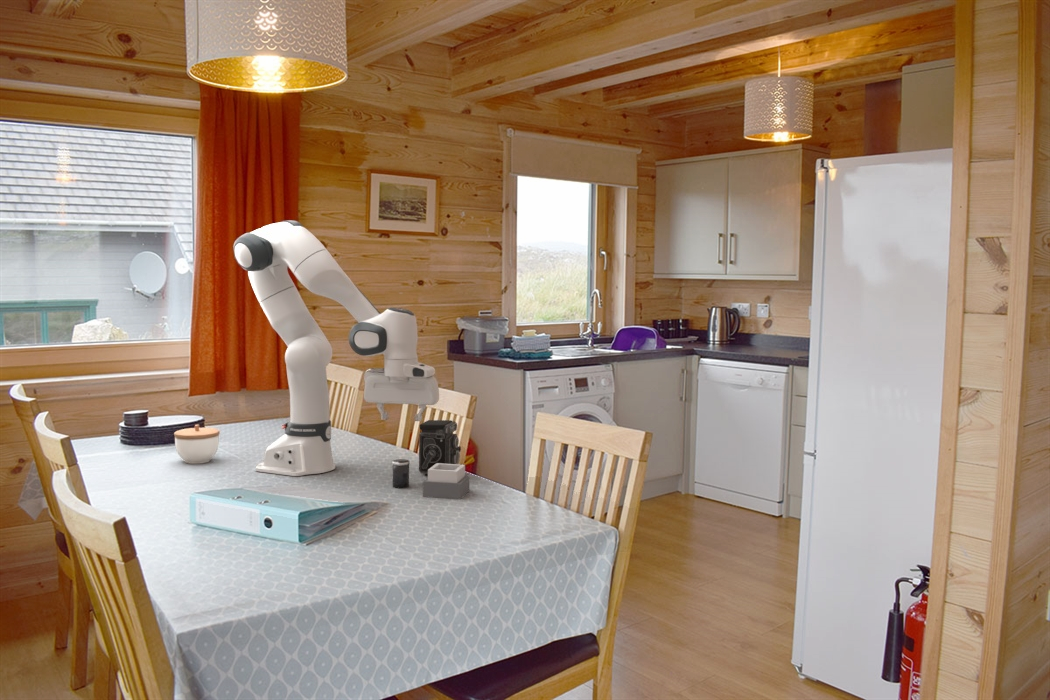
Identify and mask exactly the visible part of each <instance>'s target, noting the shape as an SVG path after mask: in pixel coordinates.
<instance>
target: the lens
mask: <svg viewBox="0 0 1050 700" xmlns="http://www.w3.org/2000/svg"><path fill="white" fill-rule="evenodd" d="M391 464H392V488H393V489H399V490H400V489H407V488H409V486H410V460H409V459H406V458H397V459H393V460H392V461H391Z"/></svg>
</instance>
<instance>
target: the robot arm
mask: <svg viewBox="0 0 1050 700" xmlns="http://www.w3.org/2000/svg"><path fill="white" fill-rule="evenodd" d="M232 247H233V255H234V259H235V260H236V263H237V264H238V265H239V266H240V267H241V268H242V269H243V270H244V271H247V275H248V279H249V282H250V284H251V287H252V290H253V292H254V294H255V297H256V299H257V301H258V303H259V305H260V307H261V309H262V310H263V313H264V314H265V316H266V318H267V320H268V322H269V324H270V326H271V328H272V329H273V330H274V331H275V332H276V333H277V334H278V336H279V337H280V338H281V339H282V341H283V342H284V343H285V345H286V347H287V348H286V350H285V353H284V362H285V365H286V375H287V383H288V390H289V408H290V410H289V411H290V412H289V413H290V414H289V418H290V420H289V421H287V422H285V423H284V424H282V425H281V429H282V430H284V434H282V435H281V436H280V437H279V438H277V439H276V440H275V441H274V442H272V443H271V444H269V445H268V446H267V447H266V448H265V452H264V456H263V461H262V462H260V463H258V464H257V465H256V466H255V471H256V472H261V473H269V474H275V475H276V474H277V475H283V476H284V475H285V476H291V477H292V476H293V477H300V476H305V475H306V476H307V475H317V474H321V473H328V472H331V471H333V470H335V469H336V465H335V461H334V457H333V453H332V452H333V451H332V445H331V439H332V421H331V419H330V391H329V384H328V377H327V366H329V364H330V363H331V361H332V358H333V347H332V345H331V343H330V342H329V340H328V338H327V337H326V335H325V334H324V332H323V330H322V329H321V328H320V326H319V324H318V322H317V321H316V320H315V319H314V317H313V316H312V314H311V313H310V311H309V309H308V307H307V305H306V303H305V301H304V299H303V298H302V295H301V294H300V292H299V290H298V289H297V287H296V285H295V283H294V282H293V280H292V278H291V276H290V274H289V271H288V269H290V271H291V273H292V274H293V275H294V276H295V278H296V280H298V281H299V283H300V284H301V285H302V286H304V288H306V289H307V291H309V292H311V293H312V294H314V295H317V296H321V297H324V298H327V299H330V300H332V301H335V302H337V303H339V304H340V305H341V306H343V307H344V308H345V310H346V311H347V312H348V313H349V314H350V315H351V316H352V317H353V318H354V320H355V321H356V322H357V323H355V324H354V325H353V326H352V327H350V328H351V329H350V330H349V333H348V343H349V347H350V348H351V349H352V351H353V352H354V353H355V354H357V355H359V356H363V357H372V356H378V355H383V359H384V362H383V363H384V364H383V365H384V366H383V367H384V368H381V367H380V368H376V367H375V368H374V367H370V368H369V369H367V370H366V371H365V372H364V374H363V377H364V378H363V379H364V382H365V384H364V389H363V390H364V391H363V400H364V401H365V402H366V403H367V404H368V403H370V404H372V403H373V404H376V408H377V409H378V412H379V413H380V419H381V420H384V421H388V420H389V418H390V417H389V412H386V410H385V408H384V407H385V405H386V404H394V405H395V404H396V405H397V404H399V405H417V406H418V409H419V411H418V413H416V414H414V421H415V422H422V420H423V413H424V412H425V411H426V409H427V406H434V405H436V404H438V402H439V401H440V389H439V382H438V380H437V378H436V377H435V376H434V375H435V374H436V369H435V367H433V366H431V365H428V364H425V363H423V362H420V361H419V358H418V352H417V346H418V339H419V338H418V336H419V335H418V324H417V323H418V322H417V318H416V315H415V313H414V312H413V311H411V310H409V309H406V308H401V307H388V308H387V309H386V310H384V311H383V312H380V311H379V310H378V309H377V308H376V307H375V305H374V304H373V303H372V302H371V301H370V300H369V299H368V297H367V296H366V295H365V294H364V293H363V292H362V291H361V290H360V288H358V286H357V285H356V284H355V283H354V282H353V281H352V280H351V279H350V277H349V276H348V275H347V274H346V272H345V271H344V270H343V268H341V266H340V265H339V263H338V262H337V260H336V259H335V258H334V256H332V254H331V253H330V251H329V250H328V249H327V248H326V247H325V245H324V244H323V243H322V242H321V241H320V240H319V239H318V238H317V237H316V236H315V235H314V234H313V233H312V232H310V231H309V230H308V229H307V228H306V227H304V225H303V224H301V222H299V221H297V220H290V219H289V220H282V221H280V222H275V223H270V224H267V225H264V226H262V227H261V228H257V229H255V230H253V231H250V232H246V233H244V234H242V235H240V236H239V237H237V238H236V240H235V241H234V243H233V246H232Z"/></svg>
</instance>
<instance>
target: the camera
mask: <svg viewBox="0 0 1050 700" xmlns="http://www.w3.org/2000/svg"><path fill="white" fill-rule="evenodd" d="M419 430H421V432H420V431H419V433H418V471H419V472H418V473H420V474H422V476H425V475H428V469H430V468H431V467H432V466H434V465H435V464H436V463H443V464H460V458H461V455H460V453H461V450H462V446H460V445H459V444H460V440H459V437H458V434H457V433H454V432H456V431H457V430H458V423H457V422H456V421H454V420H452V419H450V420H449V419H447V420H445V419H443V420H442V419H440V420H439V419H438V420H437V419H436V420H435V419H428V420H426V421H424V422H422V423H420V424H419Z"/></svg>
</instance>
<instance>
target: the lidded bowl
mask: <svg viewBox="0 0 1050 700" xmlns="http://www.w3.org/2000/svg"><path fill="white" fill-rule="evenodd" d="M173 435H174V445H175V449H176V452H177V455H178V456H179V458H181V460H183V461H184V463H185V464H193V465H195V464H205V463H209V462H210V461H211V460H212V458H213V457H214V456H215V455H216V454H217V452H218V449H219V444H220V429H218V428H215V427H200V424H195V425H194V427H188V428H184V429H183V428H182V429H179V430H176V431H175V432H174V433H173Z"/></svg>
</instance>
